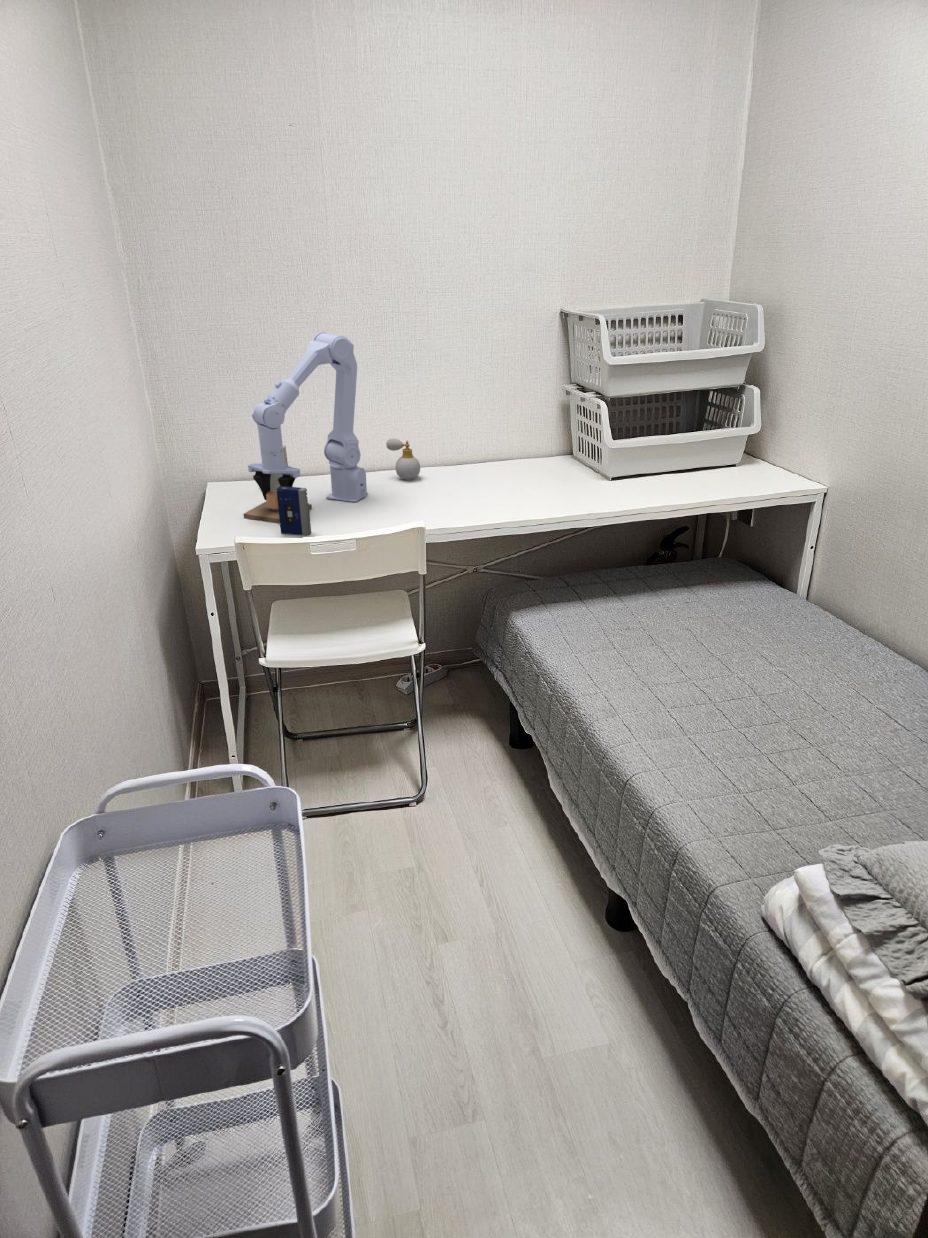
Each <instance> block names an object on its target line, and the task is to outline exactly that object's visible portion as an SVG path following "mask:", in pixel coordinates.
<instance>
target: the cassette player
mask: <svg viewBox="0 0 928 1238" xmlns="http://www.w3.org/2000/svg"><path fill="white" fill-rule="evenodd" d="M276 490H277V500H278V509H279V519H280V523H279V526H280V534H284V535H285V534H287V535H294V536H295V535H297V536H309V535H311V533H312V524H311V515H310V512H311V511H310V510H309V504H310V503H309V501H308V499H309V498H308V492H307V491H308V489H307V487H299V486H298V487H296V486H295V487H294V486H292V487H285V486H279V487H278V488H277V489H276Z"/></svg>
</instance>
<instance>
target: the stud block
mask: <svg viewBox="0 0 928 1238" xmlns="http://www.w3.org/2000/svg"><path fill="white" fill-rule="evenodd" d="M311 510H313V506H312V503H311V504H310V503H309V511H311ZM243 519H247V520H253V521H260V520H262V521H261V522H269V523H274V524H275V523H276V524H280V519H279V509H271V508H268V506H267V501H266V500H265V501H264V502H263V503H261V504H259V505H257V506H255V507H253V508H251V509H250V510H248V511H246V512H244V513H243Z"/></svg>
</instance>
